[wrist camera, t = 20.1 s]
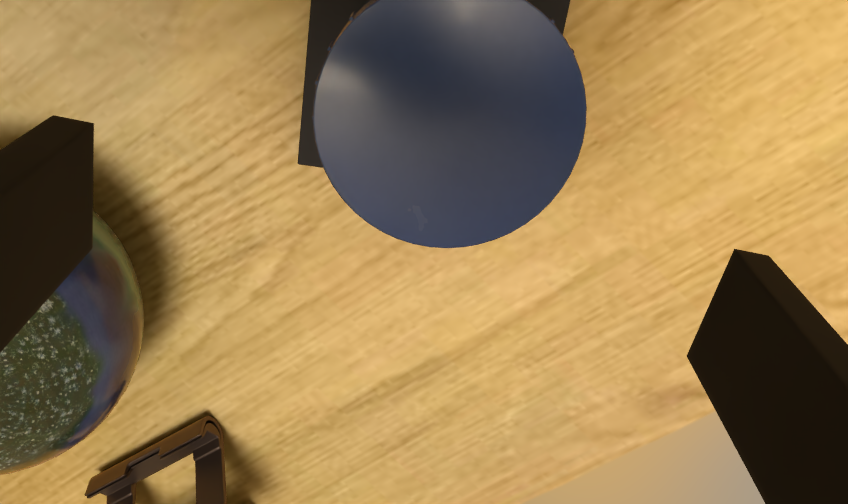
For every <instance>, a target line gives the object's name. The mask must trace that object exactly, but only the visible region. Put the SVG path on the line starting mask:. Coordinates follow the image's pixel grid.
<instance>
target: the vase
mask: <svg viewBox="0 0 848 504" xmlns="http://www.w3.org/2000/svg"><path fill="white" fill-rule="evenodd" d="M143 330H144V306H143V301H142V295H141V289H140V285H139V282H138V279H137V276H136V273H135V271H134V268H133V265H132V262H131V260H130V258H129V256H128V254H127V252H126V251H125V249H124V247H123V245H122V243H121V242H120V240H119V239H118V238H117V236H116V235H115V234H114V232H113V231H112V230H111V228H110V227H109V226H108V224H107V223H106V222H105V221H104V220H103V219H102V218H101V217H100V216H99V215H98V214H97V213H96V212H95V211H94V210H93V248H92V249H91V251H90V252H89V253H88V254H87V255H86V256H85V257H84V259H83V260H82V261H81V262H80V263H79V264H78V265H77V266H76V268H75V269H74V270H73V271H72V272H71V273H70V274H69V276H68V277H67V278H66V279H65V280H64V281H63V282H62V283H61V285H60V286H59V287H58V288H57V289H56V290H55V291H54V292H53V294H52V295H51V296H50V297H49V298H48V299H47V300H46V302H45V303H44V304H43V305H42V306H41V307H40V308H39V309H38V311H37V312H36V313H35V314H34V315H33V316H32V317H31V319H30V320H29V321H28V322H27V323H26V324H25V325H24V326H23V328H22V329H21V330H20V331H19V332H18V333H17V334H16V336H15V337H14V338H13V339H12V340H11V341H10V342H9V343H8V345H7V346H6V347H5V348H4V349H3V350H2V351H1V353H0V475H3V474H9V473H13V472H16V471H20V470H23V469H27V468H30V467H33V466H36V465H39V464H41V463H44V462H46V461H48V460H50V459H52V458H54V457H57V456H59V455H60V454H62V453H64V452H66V451H67V450H69V449H70V448H72V447H73V446H75V445H76V444H78V443H79V442H80V441H82V440H83V439H85V438H86V437H87V436H88V435H89V434H90V433H92V432H93V431H94V430H95V429H96V428H97V427H98V426H99V425H100V424H101V423H102V422H103V421H104V420H105V419H106V418H107V417H108V415H109V414H110V413H111V411H112V410H113V409H114V407H115V406H116V404H117V403H118V401H119V400H120V398H121V397H122V395H123V394H124V392H125V391H126V389H127V387H128V384H129V382H130V380H131V377H132V375H133V373H134V370H135V367H136V365H137V362H138V359H139V355H140V350H141V345H142V340H143Z"/></svg>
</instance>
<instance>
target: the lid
mask: <svg viewBox="0 0 848 504" xmlns="http://www.w3.org/2000/svg"><path fill="white" fill-rule="evenodd" d="M349 20H350V21H349V22H348V23H347V24H346V25H345V27H344V28H343V29H342V31H341V33H340V34H339V36H338V37H337V39H336V41H333V40H332V42H331V44H330V45H329V47H328V49H327V50H328V51H329V54H328V56H327V58H326V60H325V62H324V65H323V67H322V69H321V72H320V74H319V75H318V77H317V79H316V81H315V84H316V85H317V86H316V91H315V98H314V104H313V116H312V120H313V126H314V135H315V142H316V146H317V149H318V153H319V157H320V160H321V162H322V165H323V167H324V170H325V172H326V174H327V176H328V178H329V179H330V181H331V183H332V185H333V187H334V188H335V189H336V191H337V192H338V194H339V195H340V196H341V198H342V199H343V200H344V201H345V202H346V203H347V205H348V206H349V207H350V208H351V209H352V210H353V211H354V212H355V213H356V214H358V215H359V216H360V217H361V218H363V219H364V220H365V221H366V222H367V223H369V224H370V225H372V226H374V227H375V228H377V229H379V230H380V231H382V232H384V233H386V234H388V235H390V236H392V237H395V238H397V239H400V240H403V241H406V242H409V243H412V244H417V245H422V246H427V247H438V248H456V247H467V246H472V245H478V244H482V243H485V242H488V241H492V240H495V239H497V238H500V237H502V236H504V235H507V234H509V233H511V232H513V231H514V230H516V229H518V228H520V227H521V226H523V225H525V224H526V223H527V222H529V221H530V220H531V219H533V218H534V217H535V216H537V215H538V214H539V213H540V212H541V211H542V210H543V209H544V208H545V207H546V206H547V205H548V204H549V203H550V202H551V201H552V200H553V199H554V198H555V196H556V195H557V194H558V193H559V191H560V190H561V189H562V187H563V186H564V184H565V182H566V181H567V179H568V178H569V176H570V174H571V172H572V170H573V168H574V166H575V163H576V161H577V159H578V156H579V153H580V150H581V146H582V143H583V138H584V132H585V127H586V109H587V107H586V96H585V88H584V84H583V79H582V75H581V71H580V69H579V66H578V63H577V61H576V58H575V56H574V54H573V53H574V51H573V49H571V48H570V46H569V45H568V43H567V41H566V39H565V38H564V37H563V35H562V34H561V33H560V31H559V30H558V29H557V27H556V26H555V25H554V23H555V21H554V20H553V19H552V18H550V17H549V16H548V15H546V14H545V15H544V14H543V13H542V12H541V11H540V10H539V9H537V8H536V7H535V6H533V5H532V4H531V3H529V2H528V1H527V0H370V1H369V2H368V3H367V4H365V5H364V6H363V7H362V8H361V9H360V10H359V11H358V12H357V13H355V12H353V13H352V14H351V16H350V18H349Z"/></svg>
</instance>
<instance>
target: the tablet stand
mask: <svg viewBox="0 0 848 504" xmlns="http://www.w3.org/2000/svg"><path fill="white" fill-rule="evenodd" d="M192 453H193V458H194V461H195V467H196V504H227V499H226V480H225V461H224V443H223V433H222V430H221V427H220V425H219V424H218V422H217V421H216V420H215V419H214V418H212V417H210V416H206V417H204V418H202V419H200V420H198V421H196V422H194V423H193V424H191V425H189V426H187V427H185V428H183V429H181V430H179V431H178V432H176V433H174V434H172V435H170V436H168V437H166V438H165V439H163V440H161V441H159V442H157V443H155V444H153V445H152V446H150V447H148V448H146V449H144V450H142V451H140V452H139V453H137V454H135V455H133V456H131V457H129V458H127V459H125V460H124V461H122V462H120V463H118V464H116V465H114V466H112V467H111V468H109V469H107V470H105V471H103V472H101V473H99V474H98V475H96V476H94V477H92V478H91V480H90V482H89V484H88V487H87V490H86V493H85V496H87V498H91V497H93V496H95V495H97V494H99V493H101V494H104V495H106V496H107V504H135V499H136V483H137V482H139V481H140V480H142V479H144V478H146V477H148V476H150V475H152V474H154V473H156V472H158V471H159V470H161V469H163V468H165V467H167V466H169V465H171V464H173V463H175V462H176V461H178V460H180V459H182V458H184V457H186V456H188V455H190V454H192Z"/></svg>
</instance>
